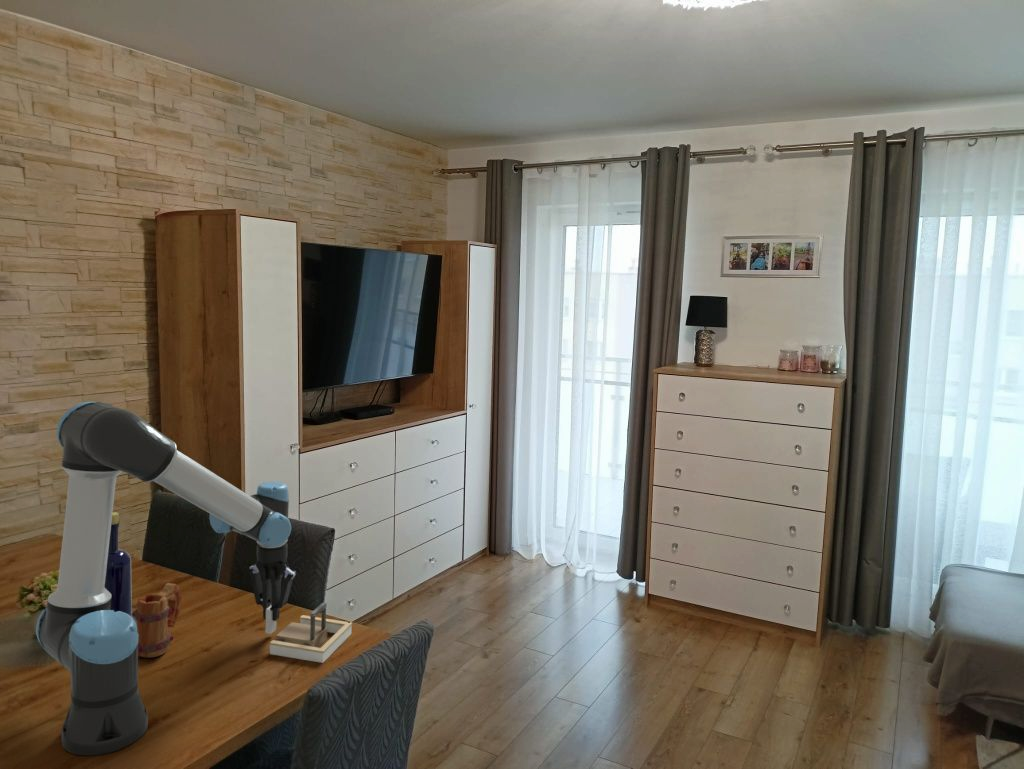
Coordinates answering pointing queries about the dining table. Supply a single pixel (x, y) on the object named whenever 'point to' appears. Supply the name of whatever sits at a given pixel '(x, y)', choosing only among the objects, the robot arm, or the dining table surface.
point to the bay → (309, 652)
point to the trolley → (306, 630)
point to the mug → (157, 620)
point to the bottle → (118, 572)
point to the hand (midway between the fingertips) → (271, 631)
